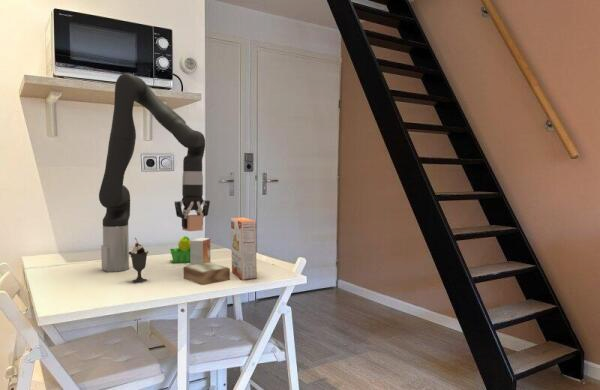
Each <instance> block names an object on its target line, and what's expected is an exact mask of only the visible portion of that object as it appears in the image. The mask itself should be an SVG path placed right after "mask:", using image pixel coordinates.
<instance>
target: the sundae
mask: <svg viewBox="0 0 600 390" xmlns="http://www.w3.org/2000/svg"><path fill="white" fill-rule="evenodd" d="M134 240H137V238H136V237H134ZM148 254H149V251H148V250H146V249H145V248H144V245H142V244H140V243H139V241H136V242H135V244H134V246H133V248H132V250H131V251H129V256H130V257H131V263H132V267H133V268H132V269H134V270H135V271H136V272H137V277H136V278H134V279H133V280H131V282H132V283H135V284H136V283H137V284H138V283H145V282H147V281H148V280H147V279H146V278H143V277H142V271H143V270H145V268H146V265H147V257H148Z"/></svg>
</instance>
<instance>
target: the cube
mask: <svg viewBox="0 0 600 390" xmlns="http://www.w3.org/2000/svg"><path fill="white" fill-rule="evenodd" d="M203 225H204V217H203V216H200V215H197V214H188V216H187V229H183V227H182V226H181V227H182V230H183V231H186V232H198V231H203V229H204V227H203Z"/></svg>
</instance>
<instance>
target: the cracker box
mask: <svg viewBox="0 0 600 390" xmlns="http://www.w3.org/2000/svg"><path fill="white" fill-rule="evenodd" d="M230 226H231V227H230V231H231V232H230V233H231V234H230V236H231V237H230V238H231V239H230V240H231V242H230V243H231V272H232V273H233V274H235V276H237V278H239V279H240V280H241V281H247V280H253V279H254V280H256V279H257V268H258V267H257V221H256V220H252V219H250V218H249V217H248V218H247V217H242V216H241V217H240V216H239V217H230Z"/></svg>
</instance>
